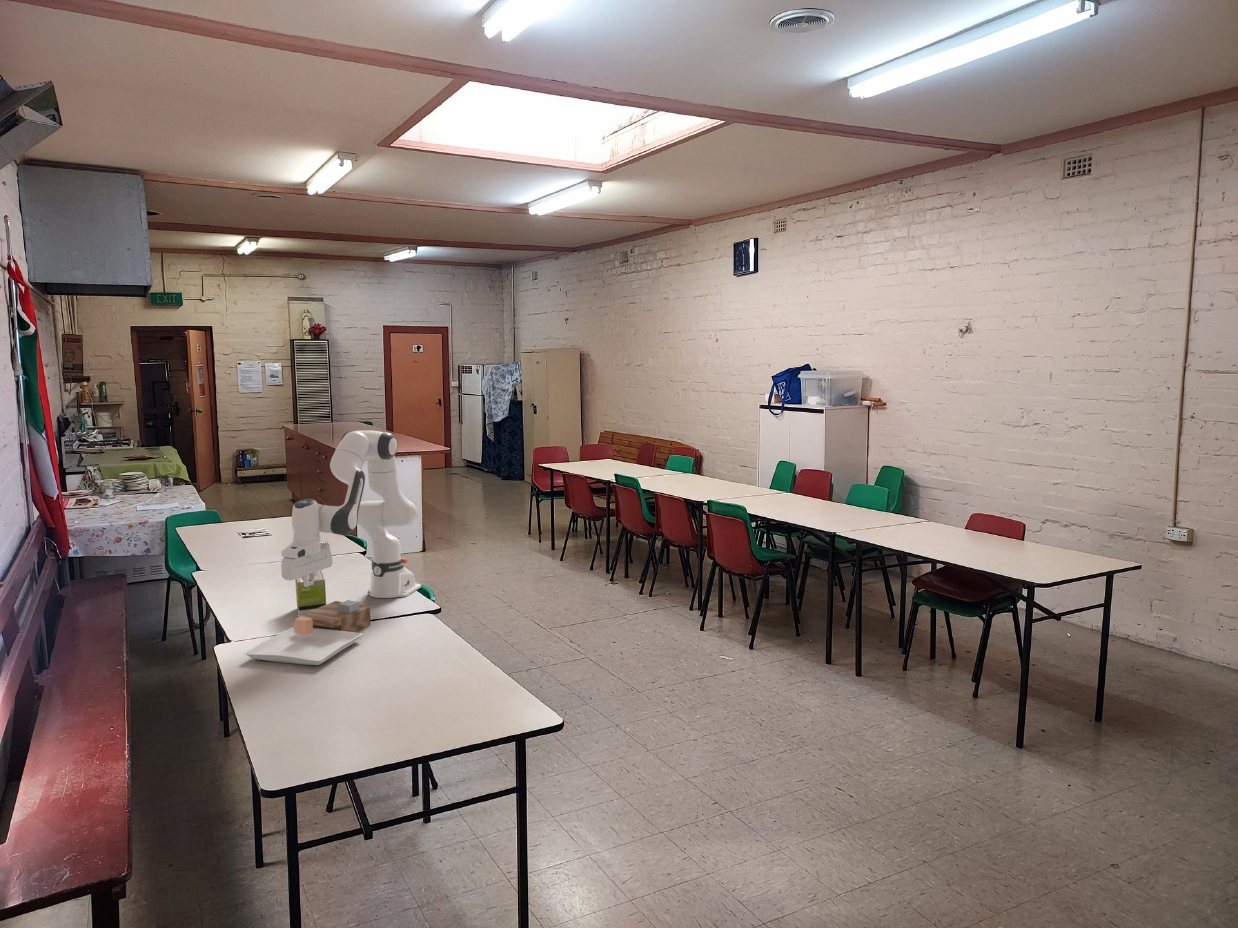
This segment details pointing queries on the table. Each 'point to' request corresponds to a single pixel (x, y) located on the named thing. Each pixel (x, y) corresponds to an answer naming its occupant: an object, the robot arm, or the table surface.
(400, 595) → the robot arm
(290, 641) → the square plate
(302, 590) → the tea box
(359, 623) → the wooden box
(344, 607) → the tile
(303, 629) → the tile
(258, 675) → the table surface
